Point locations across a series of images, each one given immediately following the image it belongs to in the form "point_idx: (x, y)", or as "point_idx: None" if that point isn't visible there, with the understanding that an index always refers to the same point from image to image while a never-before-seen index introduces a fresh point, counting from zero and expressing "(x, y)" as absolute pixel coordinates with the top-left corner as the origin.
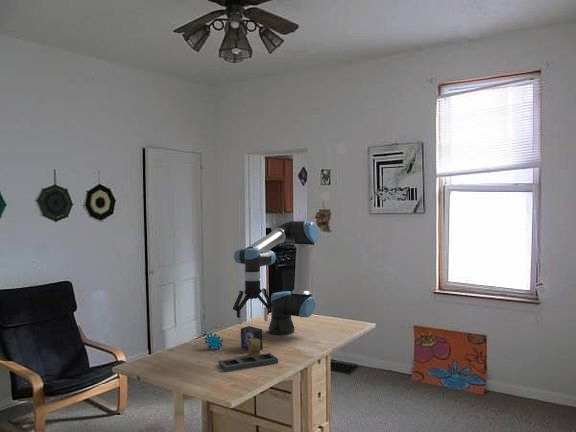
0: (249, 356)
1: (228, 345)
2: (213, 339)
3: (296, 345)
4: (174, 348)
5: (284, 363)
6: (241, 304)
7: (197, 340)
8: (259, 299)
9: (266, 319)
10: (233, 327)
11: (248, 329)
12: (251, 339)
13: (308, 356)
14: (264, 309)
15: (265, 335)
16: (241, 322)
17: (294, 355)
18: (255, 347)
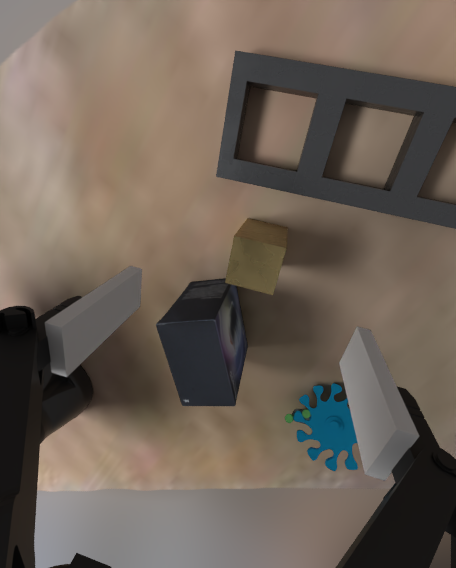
0: (327, 193)
1: (268, 392)
2: (335, 432)
3: (61, 231)
4: None
5: (217, 27)
6: (430, 557)
7: (315, 484)
8: (31, 504)
9: (129, 275)
10: (160, 487)
11: (216, 368)
12: (265, 272)
13: (70, 55)
14: (78, 355)
15: (112, 384)
16: (363, 338)
17: (119, 117)
18: (264, 232)
